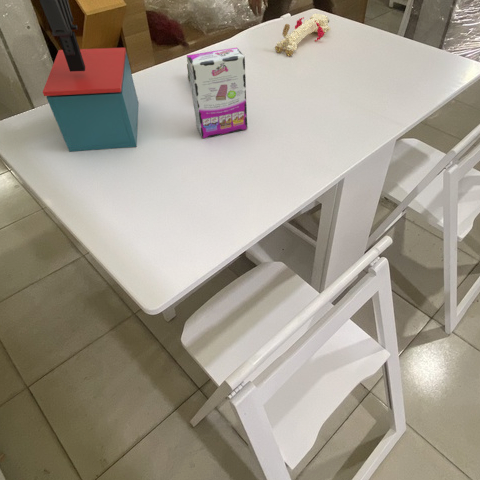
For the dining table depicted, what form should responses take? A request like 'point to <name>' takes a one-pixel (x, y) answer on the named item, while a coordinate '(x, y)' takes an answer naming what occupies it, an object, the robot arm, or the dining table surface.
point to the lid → (88, 73)
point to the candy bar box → (218, 91)
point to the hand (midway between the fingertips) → (77, 69)
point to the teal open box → (98, 117)
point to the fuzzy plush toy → (302, 32)
